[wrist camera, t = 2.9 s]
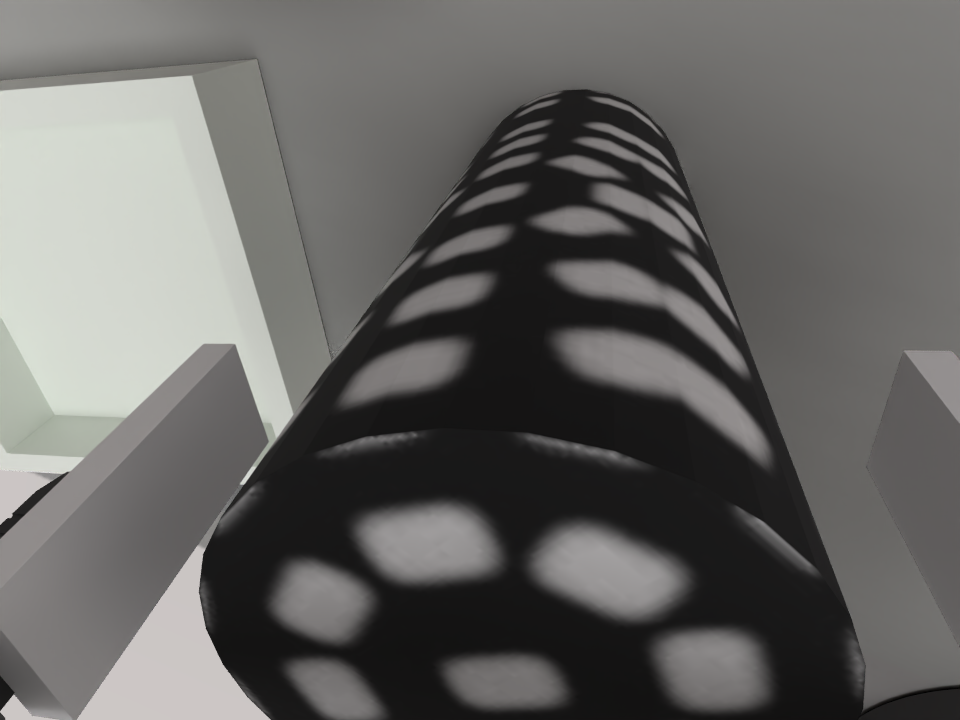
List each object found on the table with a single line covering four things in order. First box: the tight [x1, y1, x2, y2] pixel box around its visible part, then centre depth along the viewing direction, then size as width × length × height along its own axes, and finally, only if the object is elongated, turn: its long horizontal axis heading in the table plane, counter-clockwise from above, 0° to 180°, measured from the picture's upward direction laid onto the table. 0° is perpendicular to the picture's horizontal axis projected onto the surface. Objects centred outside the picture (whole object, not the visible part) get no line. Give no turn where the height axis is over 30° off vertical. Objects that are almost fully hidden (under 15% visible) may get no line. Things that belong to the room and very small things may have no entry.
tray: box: [0, 59, 331, 484], centre depth 28 cm, size 18×18×4 cm
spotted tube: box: [199, 90, 866, 720], centre depth 16 cm, size 8×8×20 cm
